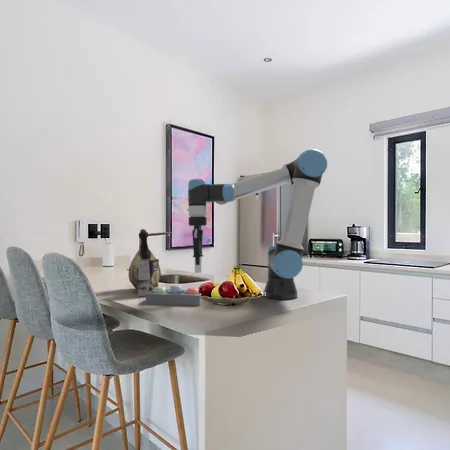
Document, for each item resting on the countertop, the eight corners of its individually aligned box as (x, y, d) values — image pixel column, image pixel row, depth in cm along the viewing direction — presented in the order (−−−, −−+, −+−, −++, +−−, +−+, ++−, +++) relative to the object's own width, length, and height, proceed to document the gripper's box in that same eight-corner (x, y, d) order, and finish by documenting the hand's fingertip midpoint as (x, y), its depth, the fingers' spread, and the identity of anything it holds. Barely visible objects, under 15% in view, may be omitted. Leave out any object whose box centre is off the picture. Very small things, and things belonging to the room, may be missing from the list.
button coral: (199, 297, 148) (199, 287, 148) (197, 299, 144) (197, 289, 144) (188, 297, 149) (188, 287, 149) (185, 299, 144) (185, 289, 144)
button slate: (183, 294, 149) (183, 285, 149) (180, 297, 144) (180, 287, 144) (171, 294, 150) (172, 285, 150) (169, 296, 145) (169, 286, 145)
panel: (204, 299, 152) (204, 290, 152) (199, 305, 140) (199, 295, 140) (154, 298, 154) (154, 288, 154) (145, 303, 142) (145, 293, 142)
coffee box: (151, 296, 156) (151, 260, 157) (137, 296, 158) (138, 260, 158) (158, 293, 165) (159, 258, 166) (145, 292, 167) (146, 258, 167)
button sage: (166, 296, 150) (166, 286, 150) (163, 298, 145) (163, 288, 145) (155, 295, 150) (155, 286, 150) (152, 298, 145) (152, 288, 145)
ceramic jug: (128, 288, 178) (129, 228, 179) (159, 287, 182) (160, 229, 182) (127, 294, 162) (128, 228, 162) (161, 293, 166) (162, 229, 166)
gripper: (191, 216, 155) (192, 270, 155) (185, 215, 142) (186, 274, 142) (208, 216, 155) (209, 270, 154) (204, 215, 142) (205, 274, 141)
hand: (198, 272), depth 148 cm, fingers closed
